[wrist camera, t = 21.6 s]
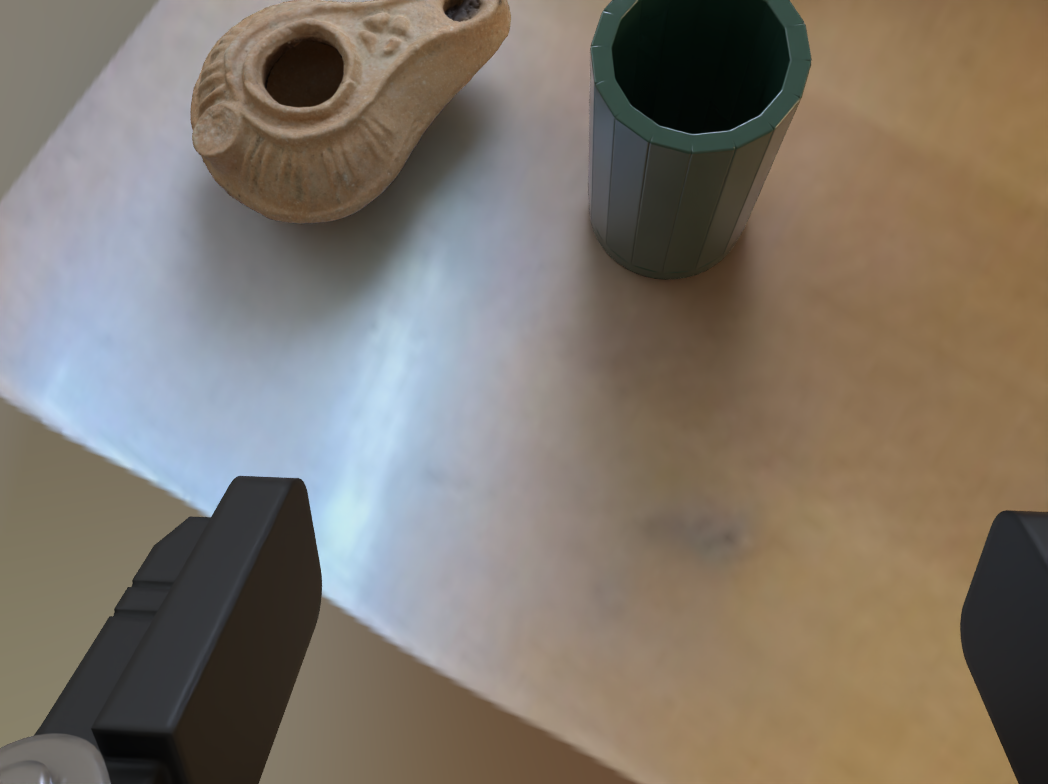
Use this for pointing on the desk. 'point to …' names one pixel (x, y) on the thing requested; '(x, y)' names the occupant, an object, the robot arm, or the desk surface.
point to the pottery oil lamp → (333, 97)
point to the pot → (687, 124)
